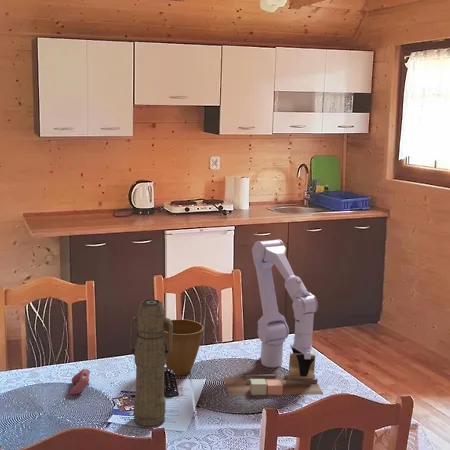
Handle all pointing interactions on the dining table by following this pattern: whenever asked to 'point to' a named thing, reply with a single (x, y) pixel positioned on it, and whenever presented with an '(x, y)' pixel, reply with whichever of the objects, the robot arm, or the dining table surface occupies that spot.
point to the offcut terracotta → (274, 387)
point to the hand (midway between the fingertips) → (301, 371)
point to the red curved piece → (80, 381)
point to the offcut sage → (258, 386)
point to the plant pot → (183, 345)
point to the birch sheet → (294, 367)
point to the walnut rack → (289, 385)
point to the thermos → (150, 362)
